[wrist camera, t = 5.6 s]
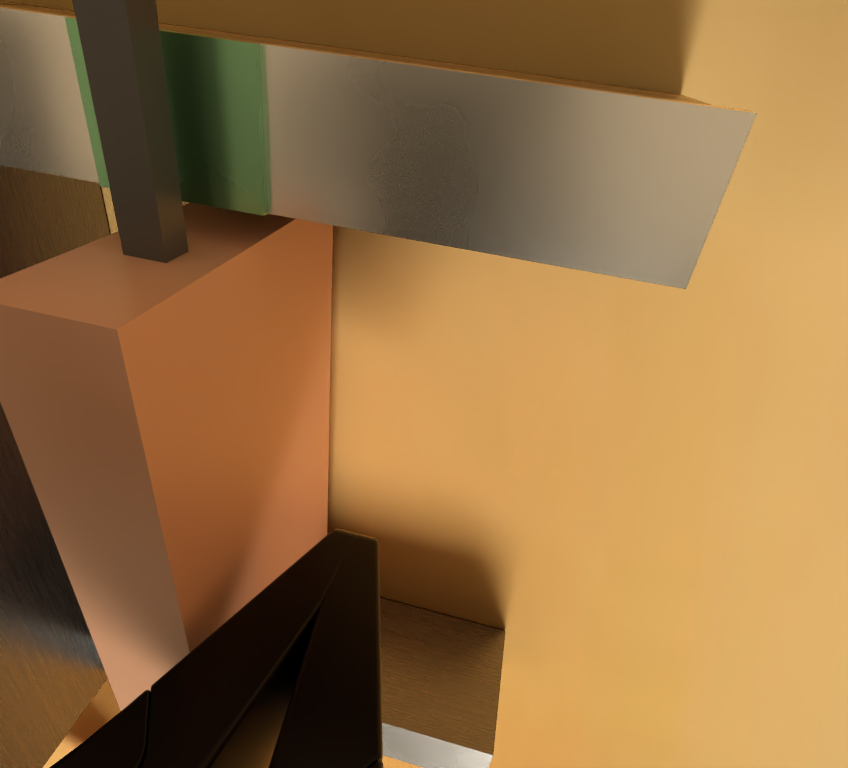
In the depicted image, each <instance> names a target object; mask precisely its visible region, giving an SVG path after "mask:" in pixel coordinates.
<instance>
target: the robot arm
mask: <svg viewBox="0 0 848 768" xmlns="http://www.w3.org/2000/svg"><path fill="white" fill-rule="evenodd" d="M382 757H383V742H382V687H381V633H380V578H379V541H378V539H377V538H374V537H370V536H366V535H362V534H357V533H354V532H350V531H346V530H343V529H334V530H332V531H331V532H330V533H329V534H328V535H326V536H325V537H324V538H323V539H322V540H321V541H319V542H318V543H317V544H316V545H315V546H314V547H312V548H311V549H310V550H309V551H308V552H307V553H305V554H304V555H303V556H302V557H301V558H300V559H298V560H297V561H296V562H295V563H294V564H293V565H291V566H290V567H289V568H288V569H287V570H286V571H284V572H283V573H282V574H281V575H280V576H279V577H277V578H276V579H275V580H274V581H273V582H272V583H270V584H269V585H268V586H267V587H266V588H265V589H263V590H262V591H261V592H260V593H259V594H258V595H256V596H255V597H254V598H253V599H252V600H251V601H249V602H248V603H247V604H246V605H245V606H244V607H242V608H241V609H240V610H239V611H238V612H237V613H235V614H234V615H233V616H232V617H231V618H230V619H228V620H227V621H226V622H225V623H224V624H223V625H221V626H220V627H219V628H218V629H217V630H216V631H214V632H213V633H212V634H211V635H210V636H209V637H207V638H206V639H205V640H204V641H203V642H202V643H200V644H199V645H198V646H197V647H196V648H195V649H193V650H192V651H191V652H190V653H189V654H188V655H186V656H185V657H184V658H183V659H182V660H181V661H179V662H178V663H177V664H176V665H175V666H174V667H172V668H171V669H170V670H169V671H168V672H167V673H165V674H164V675H163V676H162V677H161V678H160V679H158V680H157V681H156V682H155V683H154V684H153V685H152V686H151V690H145V691H144V692H143V693H142V694H140V695H139V696H138V697H137V698H136V699H135V700H134V701H132V702H131V703H130V704H129V705H128V706H127V707H125V708H124V709H123V710H122V711H121V712H120V713H118V714H117V715H116V716H115V717H113V718H112V719H111V720H110V721H109V722H107V723H106V724H105V725H104V726H102V727H101V728H100V729H99V730H98V731H96V732H95V733H94V734H93V735H91V736H90V737H89V738H88V739H87V740H85V741H84V742H83V743H82V744H80V745H79V746H78V747H77V748H75V749H74V750H73V751H71V752H70V753H69V754H67V755H66V756H65V757H63V758H62V759H61V760H59V761H58V762H57V763H55V764H54V765H53V766H51V767H50V768H383V762H382Z"/></svg>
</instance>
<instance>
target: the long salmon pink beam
mask: <svg viewBox="0 0 848 768" xmlns="http://www.w3.org/2000/svg"><path fill="white" fill-rule="evenodd" d="M72 1H73V6H74V11H75V16H76V21H77V26H78V31H79V36H80V41H81V46H82V51H83V56H84V61H85V66H86V71H87V76H88V81H89V86H90V91H91V96H92V101H93V106H94V111H95V116H96V121H97V126H98V131H99V136H100V141H101V146H102V151H103V156H104V161H105V166H106V171H107V176H108V181H109V186H110V191H111V196H112V201H113V206H114V211H115V216H116V221H117V226H118V232H116V233H113V234H111V235H108V236H106V237H103V238H101V239H98V240H96V241H93V242H91V243H88V244H86V245H83V246H81V247H78V248H76V249H73V250H71V251H68V252H66V253H63V254H61V255H58V256H56V257H53V258H51V259H48V260H46V261H43V262H41V263H38V264H36V265H33V266H31V267H28V268H26V269H23V270H21V271H18V272H16V273H13V274H11V275H8V276H6V277H3V278H1V279H0V402H1V405H2V407H3V410H4V413H5V415H6V418H7V420H8V423H9V425H10V428H11V430H12V433H13V436H14V438H15V441H16V443H17V446H18V448H19V451H20V454H21V456H22V459H23V461H24V464H25V466H26V469H27V472H28V474H29V477H30V479H31V482H32V484H33V487H34V490H35V492H36V495H37V497H38V500H39V502H40V505H41V508H42V510H43V513H44V515H45V518H46V520H47V523H48V526H49V528H50V531H51V533H52V536H53V538H54V541H55V544H56V546H57V549H58V551H59V554H60V556H61V559H62V562H63V564H64V567H65V569H66V572H67V574H68V577H69V580H70V582H71V585H72V587H73V590H74V592H75V595H76V598H77V600H78V603H79V605H80V608H81V610H82V613H83V616H84V618H85V621H86V623H87V626H88V628H89V631H90V634H91V636H92V639H93V641H94V644H95V646H96V649H97V652H98V654H99V657H100V659H101V662H102V664H103V667H104V670H105V672H106V675H107V677H108V680H109V682H110V685H111V688H112V690H113V693H114V695H115V698H116V700H117V703H118V705H119V708H120V711H122V710H123V709H124V708H125V707H127V706H128V705H129V704H130V703H131V702H132V701H134V700H135V699H136V698H137V697H138V696H139V695H140V694H142V693H143V692H144V691H145V690H151V686H152V685H153V684H154V683H155V682H156V681H157V680H158V679H160V678H161V677H162V676H163V675H164V674H165V673H167V672H168V671H169V670H170V669H171V668H172V667H174V666H175V665H176V664H177V663H178V662H179V661H181V660H182V659H183V658H184V657H185V656H186V655H188V654H189V653H190V652H191V651H192V650H193V649H195V648H196V647H197V646H198V645H199V644H200V643H202V642H203V641H204V640H205V639H206V638H207V637H209V636H210V635H211V634H212V633H213V632H214V631H216V630H217V629H218V628H219V627H220V626H221V625H223V624H224V623H225V622H226V621H227V620H228V619H230V618H231V617H232V616H233V615H234V614H235V613H237V612H238V611H239V610H240V609H241V608H242V607H244V606H245V605H246V604H247V603H248V602H249V601H251V600H252V599H253V598H254V597H255V596H256V595H258V594H259V593H260V592H261V591H262V590H263V589H265V588H266V587H267V586H268V585H269V584H270V583H272V582H273V581H274V580H275V579H276V578H277V577H279V576H280V575H281V574H282V573H283V572H284V571H286V570H287V569H288V568H289V567H290V566H291V565H293V564H294V563H295V562H296V561H297V560H298V559H300V558H301V557H302V556H303V555H304V554H305V553H307V552H308V551H309V550H310V549H311V548H312V547H314V546H315V545H316V544H317V543H318V542H319V541H321V540H322V539H323V538H324V537H325V536H326V535H327V519H328V466H329V412H330V358H331V304H332V251H333V225H328V224H323V223H317V222H312V221H306V220H301V219H295V218H290V217H284V216H279V215H273V214H266V215H264V216H262V215H256V214H251V213H245V212H240V211H234V210H229V209H223V208H218V207H212V206H207V205H201V204H196V203H189V204H186V205H183V206H182V199H181V191H180V183H179V176H178V168H177V161H176V153H175V145H174V138H173V130H172V123H171V115H170V107H169V100H168V92H167V85H166V77H165V70H164V62H163V54H162V47H161V39H160V32H159V24H158V16H157V9H156V1H155V0H72Z"/></svg>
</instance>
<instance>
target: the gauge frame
mask: <svg viewBox="0 0 848 768" xmlns="http://www.w3.org/2000/svg"><path fill="white" fill-rule="evenodd" d="M158 24H159V32H160V39H161V47H162V54H163V62H164V70H165V77H166V85H167V92H168V100H169V107H170V115H171V123H172V130H173V138H174V145H175V153H176V161H177V168H178V176H179V183H180V191H181V199H182V201H185V202H190V203H196V204H201V205H207V206H212V207H218V208H223V209H229V210H234V211H240V212H245V213H251V214H256V215H262V216H264V215H266V214H273V215H279V216H284V217H290V218H295V219H301V220H306V221H312V222H317V223H323V224H328V225H334V226H339V227H345V228H350V229H356V230H361V231H367V232H373V233H378V234H384V235H389V236H395V237H400V238H406V239H411V240H417V241H422V242H428V243H433V244H439V245H444V246H450V247H455V248H461V249H466V250H472V251H478V252H483V253H489V254H494V255H500V256H505V257H511V258H516V259H522V260H527V261H533V262H538V263H544V264H549V265H555V266H560V267H566V268H572V269H577V270H583V271H588V272H594V273H599V274H605V275H610V276H616V277H621V278H627V279H632V280H638V281H643V282H649V283H654V284H660V285H666V286H671V287H677V288H682V289H686V287H687V285H688V283H689V280H690V278H691V275H692V273H693V270H694V268H695V265H696V263H697V260H698V258H699V255H700V253H701V250H702V248H703V245H704V243H705V240H706V238H707V235H708V233H709V230H710V228H711V225H712V223H713V221H714V218H715V216H716V213H717V211H718V208H719V206H720V203H721V201H722V198H723V196H724V193H725V191H726V188H727V186H728V183H729V181H730V178H731V176H732V173H733V171H734V168H735V166H736V163H737V161H738V159H739V156H740V154H741V151H742V149H743V146H744V144H745V141H746V139H747V136H748V134H749V131H750V129H751V126H752V124H753V121H754V119H755V116H756V114H757V113H754V112H751V111H748V110H742V109H735V108H727V107H720V106H713V105H709V104H707V103H704V102H701V101H698V100H695V99H692V98H689V97H686V96H683V95H678V94H670V93H663V92H656V91H649V90H641V89H634V88H627V87H620V86H612V85H605V84H598V83H591V82H583V81H576V80H569V79H562V78H554V77H547V76H540V75H533V74H525V73H518V72H511V71H504V70H496V69H489V68H482V67H475V66H467V65H460V64H453V63H446V62H438V61H431V60H424V59H417V58H409V57H402V56H395V55H388V54H380V53H373V52H366V51H359V50H351V49H344V48H337V47H330V46H322V45H315V44H308V43H301V42H293V41H286V40H279V39H272V38H264V37H257V36H250V35H243V34H235V33H228V32H221V31H214V30H206V29H199V28H192V27H185V26H177V25H170V24H163V23H158ZM99 184H100V185H99ZM100 186H102V187H108V188H110V186H109V181H108V176H107V171H106V166H105V161H104V156H103V151H102V146H101V141H100V136H99V131H98V126H97V121H96V116H95V111H94V106H93V101H92V96H91V91H90V86H89V81H88V76H87V71H86V66H85V61H84V56H83V51H82V46H81V41H80V36H79V31H78V26H77V21H76V16H75V11H69V10H62V9H54V8H47V7H40V6H33V5H25V4H18V3H11V2H4V1H0V279H1V278H3V277H6V276H8V275H11V274H13V273H16V272H18V271H21V270H23V269H26V268H28V267H31V266H33V265H36V264H38V263H41V262H43V261H46V260H48V259H51V258H53V257H56V256H58V255H61V254H63V253H66V252H68V251H71V250H73V249H76V248H78V247H81V246H83V245H86V244H88V243H91V242H93V241H96V240H98V239H101V238H103V237H106V236H108V235H110V232H109V227H108V223H107V218H106V213H105V208H104V204H103V199H102V194H101V189H100ZM380 633H381V687H382V742H383V755H384V756H387V757H390V758H394V759H397V760H400V761H403V762H407V763H410V764H413V765H417V766H420V767H423V768H488V767H489V765H490V762H491V760H492V757H493V751H494V741H495V731H496V721H497V711H498V701H499V690H500V680H501V670H502V660H503V650H504V640H505V631H503V630H500V629H496V628H492V627H488V626H485V625H481V624H477V623H473V622H470V621H466V620H462V619H458V618H455V617H451V616H447V615H443V614H440V613H436V612H432V611H428V610H425V609H421V608H417V607H413V606H410V605H406V604H402V603H398V602H395V601H391V600H387V599H384V598H380ZM107 678H108V677H107V675H106V672H105V670H104V667H103V664H102V662H101V659H100V657H99V654H98V652H97V649H96V646H95V644H94V641H93V639H92V636H91V634H90V631H89V628H88V626H87V623H86V621H85V618H84V616H83V613H82V610H81V608H80V605H79V603H78V600H77V598H76V595H75V592H74V590H73V587H72V585H71V582H70V580H69V577H68V574H67V572H66V569H65V567H64V564H63V562H62V559H61V556H60V554H59V551H58V549H57V546H56V544H55V541H54V538H53V536H52V533H51V531H50V528H49V526H48V523H47V520H46V518H45V515H44V513H43V510H42V508H41V505H40V502H39V500H38V497H37V495H36V492H35V490H34V487H33V484H32V482H31V479H30V477H29V474H28V472H27V469H26V466H25V464H24V461H23V459H22V456H21V454H20V451H19V448H18V446H17V443H16V441H15V438H14V436H13V433H12V430H11V428H10V425H9V423H8V420H7V418H6V415H5V413H4V410H3V407H2V405H1V402H0V768H43V766H44V765H45V763H46V762H47V761H48V759H49V758H50V757H51V755H52V754H53V752H54V751H55V750H56V748H57V747H58V746H59V744H60V743H61V741H62V740H63V739H64V737H65V736H66V735H67V733H68V732H69V730H70V729H71V728H72V726H73V725H74V724H75V722H76V721H77V720H78V718H79V717H80V715H81V714H82V713H83V711H84V710H85V709H86V707H87V706H88V704H89V703H90V702H91V700H92V699H93V698H94V696H95V695H96V693H97V692H98V691H99V689H100V688H101V687H102V685H103V684H104V682H105V681H106V680H107Z"/></svg>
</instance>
